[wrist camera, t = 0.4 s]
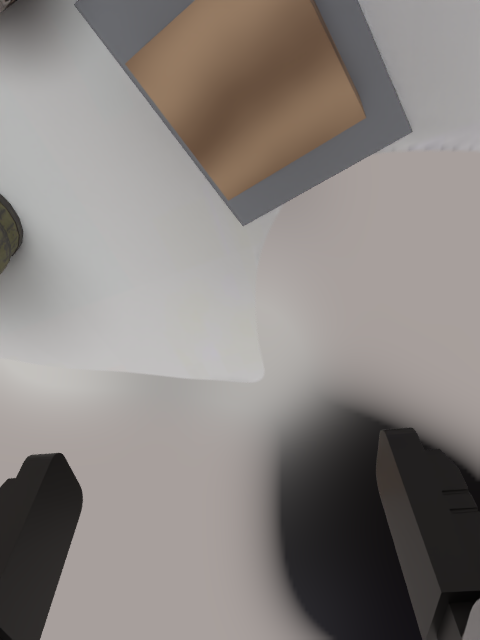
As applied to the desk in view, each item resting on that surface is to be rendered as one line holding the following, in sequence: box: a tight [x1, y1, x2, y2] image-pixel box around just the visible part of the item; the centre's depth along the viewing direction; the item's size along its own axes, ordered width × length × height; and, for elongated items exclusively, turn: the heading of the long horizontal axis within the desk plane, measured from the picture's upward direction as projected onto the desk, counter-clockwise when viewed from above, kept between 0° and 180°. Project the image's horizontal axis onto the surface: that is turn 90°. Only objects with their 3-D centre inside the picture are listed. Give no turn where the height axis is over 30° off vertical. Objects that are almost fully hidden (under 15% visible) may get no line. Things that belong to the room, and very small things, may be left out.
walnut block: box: [125, 0, 366, 201], centre depth 26 cm, size 10×10×4 cm
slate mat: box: [74, 0, 412, 226], centre depth 28 cm, size 18×14×1 cm
